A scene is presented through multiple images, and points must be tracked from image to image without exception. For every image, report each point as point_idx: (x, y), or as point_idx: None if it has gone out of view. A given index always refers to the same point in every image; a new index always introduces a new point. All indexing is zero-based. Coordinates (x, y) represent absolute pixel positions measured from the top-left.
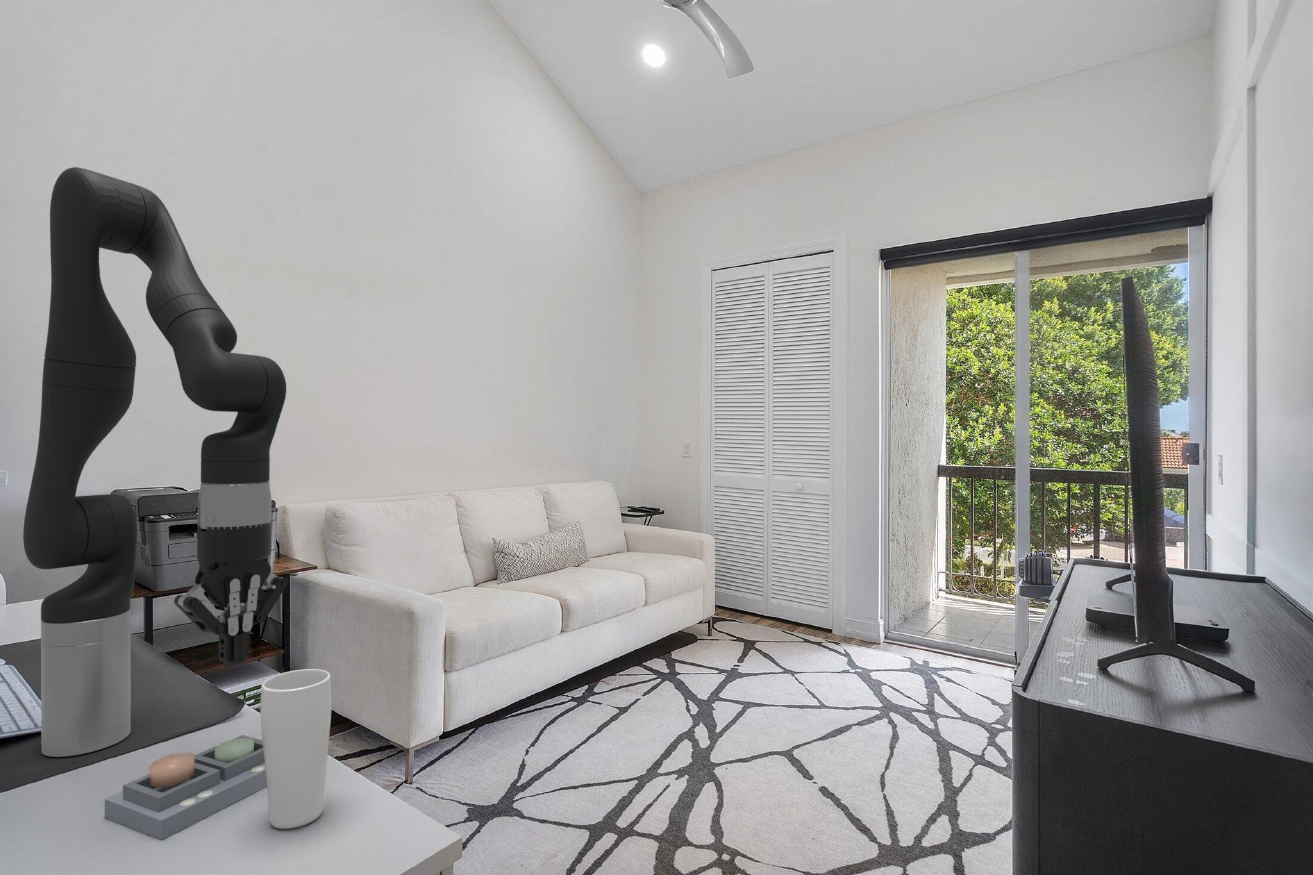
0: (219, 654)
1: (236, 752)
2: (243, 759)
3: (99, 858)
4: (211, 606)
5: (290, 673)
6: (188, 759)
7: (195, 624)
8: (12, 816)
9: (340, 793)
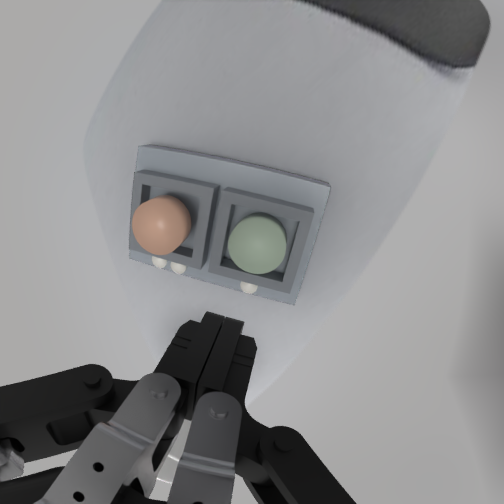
0: (178, 334)
1: (238, 266)
2: (235, 278)
3: (105, 217)
4: (81, 445)
5: (177, 458)
6: (167, 246)
7: (51, 374)
8: (133, 41)
9: (260, 362)
